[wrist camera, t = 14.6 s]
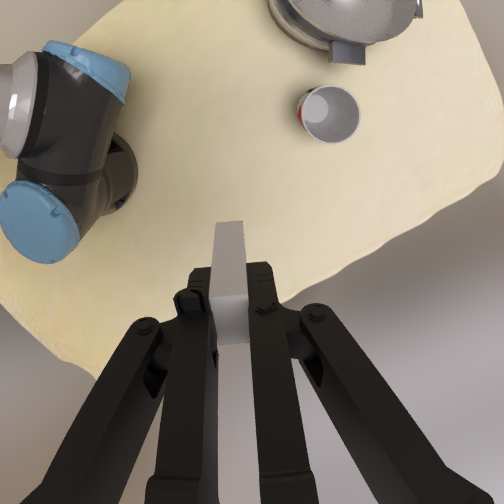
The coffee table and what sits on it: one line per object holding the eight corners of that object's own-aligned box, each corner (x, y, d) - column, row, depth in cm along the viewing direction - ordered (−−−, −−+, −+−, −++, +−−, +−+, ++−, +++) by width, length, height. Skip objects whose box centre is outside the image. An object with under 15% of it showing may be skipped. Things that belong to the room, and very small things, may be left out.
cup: (299, 77, 42) (314, 75, 34) (345, 96, 44) (369, 100, 35) (282, 122, 46) (292, 131, 38) (327, 139, 48) (347, 153, 39)
